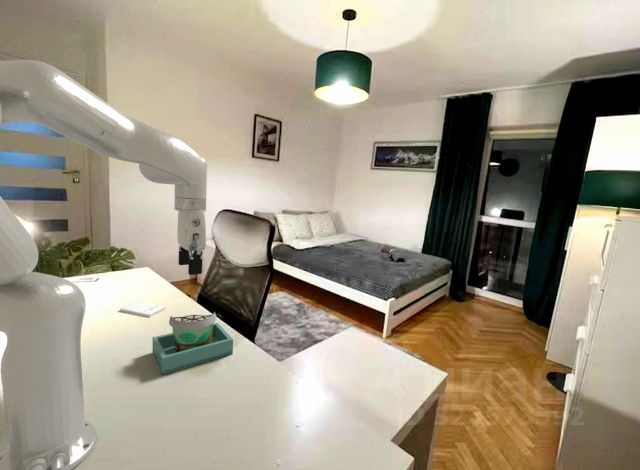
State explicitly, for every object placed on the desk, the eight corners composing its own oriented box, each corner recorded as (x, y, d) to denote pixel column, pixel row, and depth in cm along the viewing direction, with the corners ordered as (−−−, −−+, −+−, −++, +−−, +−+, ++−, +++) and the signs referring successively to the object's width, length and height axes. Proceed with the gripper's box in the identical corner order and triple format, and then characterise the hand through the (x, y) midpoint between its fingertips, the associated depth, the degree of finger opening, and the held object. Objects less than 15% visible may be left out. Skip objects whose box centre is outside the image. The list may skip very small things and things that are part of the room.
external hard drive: (139, 304, 114) (167, 309, 111) (120, 312, 106) (149, 318, 103) (139, 300, 114) (167, 305, 111) (120, 308, 106) (149, 314, 103)
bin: (232, 354, 85) (233, 339, 85) (162, 375, 74) (162, 358, 73) (217, 336, 94) (217, 322, 94) (152, 352, 83) (152, 337, 82)
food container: (165, 360, 78) (165, 324, 77) (169, 347, 84) (169, 314, 83) (215, 355, 82) (216, 321, 81) (215, 343, 88) (216, 311, 87)
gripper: (216, 208, 73) (215, 276, 76) (195, 202, 87) (194, 260, 89) (184, 208, 69) (183, 280, 71) (167, 201, 82) (167, 262, 85)
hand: (189, 269), depth 80 cm, fingers open, 9 cm apart
